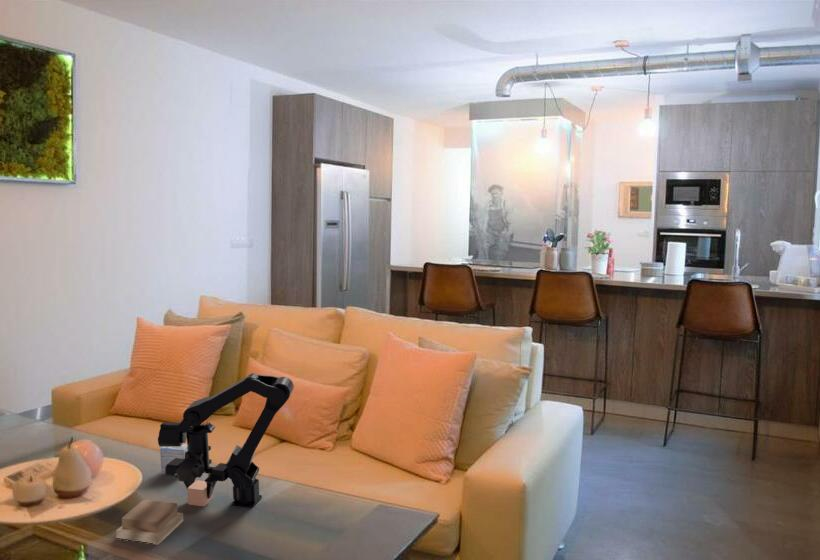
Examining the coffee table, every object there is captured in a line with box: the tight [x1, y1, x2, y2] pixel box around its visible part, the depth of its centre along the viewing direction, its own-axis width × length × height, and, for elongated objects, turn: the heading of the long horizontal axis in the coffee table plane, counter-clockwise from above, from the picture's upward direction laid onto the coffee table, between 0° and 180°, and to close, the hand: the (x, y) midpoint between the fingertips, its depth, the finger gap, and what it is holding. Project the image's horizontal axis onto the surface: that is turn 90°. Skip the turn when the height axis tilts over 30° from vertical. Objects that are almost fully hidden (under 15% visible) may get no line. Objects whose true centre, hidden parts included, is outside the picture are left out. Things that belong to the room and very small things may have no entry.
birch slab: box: [115, 512, 184, 546], centre depth 183 cm, size 12×12×3 cm
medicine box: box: [159, 443, 188, 476], centre depth 216 cm, size 8×4×9 cm, turn 84°
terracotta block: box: [186, 479, 214, 507], centre depth 198 cm, size 5×5×5 cm
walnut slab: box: [121, 499, 178, 533], centre depth 183 cm, size 10×10×3 cm
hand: (200, 497), depth 198 cm, fingers closed on terracotta block, 5 cm apart
